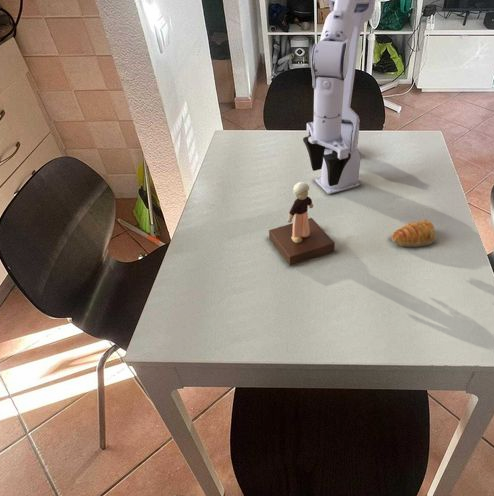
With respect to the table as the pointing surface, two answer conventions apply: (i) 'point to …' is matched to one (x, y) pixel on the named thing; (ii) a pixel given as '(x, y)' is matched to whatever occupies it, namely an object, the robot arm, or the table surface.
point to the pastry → (415, 234)
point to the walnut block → (301, 243)
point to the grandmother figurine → (300, 212)
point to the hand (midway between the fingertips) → (324, 176)
